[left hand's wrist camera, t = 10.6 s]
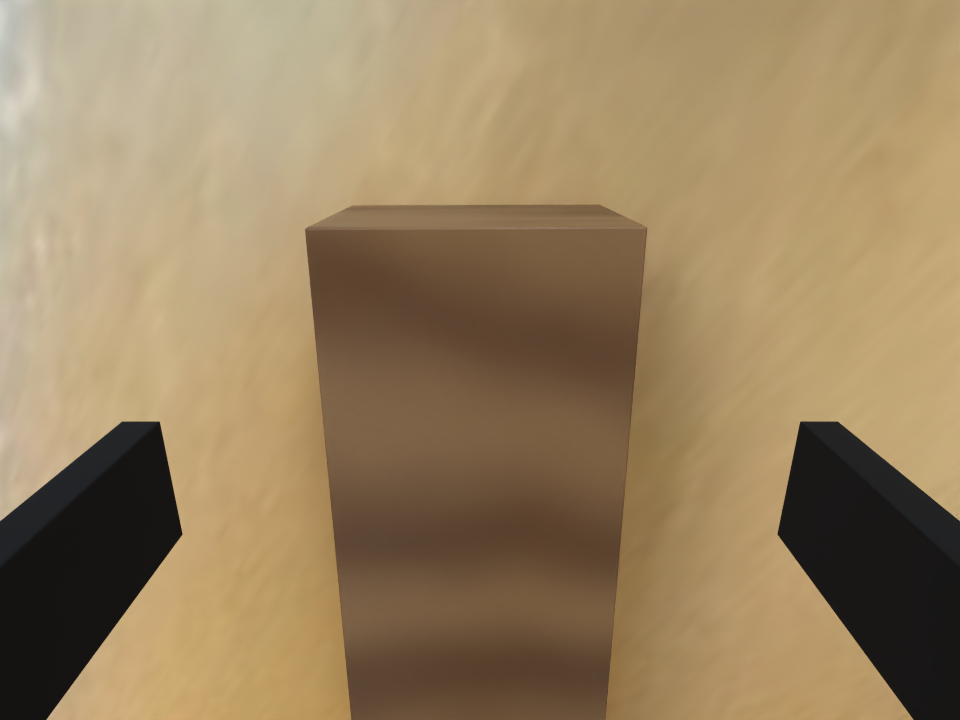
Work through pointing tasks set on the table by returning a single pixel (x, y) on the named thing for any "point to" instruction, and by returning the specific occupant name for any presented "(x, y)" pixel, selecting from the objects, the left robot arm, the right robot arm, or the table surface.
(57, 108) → the table surface
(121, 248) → the table surface
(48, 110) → the table surface
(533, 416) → the slab
